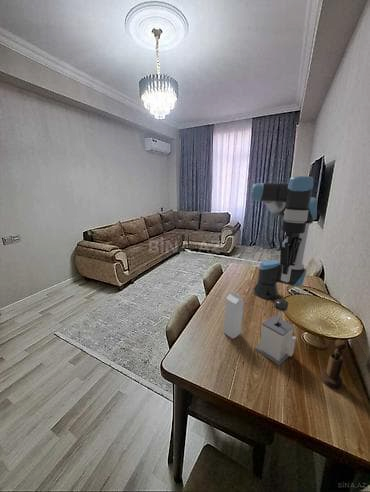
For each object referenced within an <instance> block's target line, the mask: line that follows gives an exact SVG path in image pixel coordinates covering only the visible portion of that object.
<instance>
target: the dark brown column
mask: <svg viewBox="0 0 370 492" xmlns="http://www.w3.org/2000/svg"><path fill="white" fill-rule="evenodd" d="M334 344H335V345H334V346H335V347H336V348H335V349H334V350H333V351H334V352H331V353H330V354H329V358H328V362H327V367H326V368H324V369H322V370H321V373H320V380H321V381H322V382H323V384H325V386H327V387H329V388H331V389H334V390H339V389H341V388H342V385H343V378H342V377H341V375H340V374H341V371H342V367H343V363H344V357H343V356H342V354H343V352H342V350H344V349H345V348H346V342H345V341H344V340H342V339H340V338H339V339H336V340H335V343H334Z"/></svg>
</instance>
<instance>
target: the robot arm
mask: <svg viewBox="0 0 370 492" xmlns="http://www.w3.org/2000/svg"><path fill="white" fill-rule="evenodd" d="M314 180H315V179H314V177H313V176H307V175H306V176H305V175H304V176H303V175H302V176H298V175H297V176H292V177H290V178H289V181H288V182H283V183H279V182H258V183H257V182H256V183H254V184H253V186H252V188H251V199H252V201H253V202H262V203H263V204H264V205H265V206H266V208H267V210H268V211H269V212H270V213H271V214H273V215H276V216H278V217H282V218H283V221H282V227H281V230H282V232H285V235H284V237H283V241H281V240H280V242H279V246H280V258H279V260H280V261H278V260H277V259H266V260H265V259H264V260H262V261H261V262H260V263H259V267H258V277H257V282H256V285H254V288H253V293H254V295H256V296H257V297H259V298H262V299H265V300H276V299H278V298H277V297H278V296H279V291H278V288H277V287H278V286H277V283H279V284H283V285H288V286H292V287H301V286H302V285H303V283H304V280H305V277H306V274H307V269H306V268H305V265H304V264H303V260H304V256H305V250H306V249H305V248H306V243H307V238H308V232H309V227H310V225H311V224H313V223H314V221H315V220H317V217H318V216H317V213H318V199H317V198H316V197H312V195H313V189H314Z"/></svg>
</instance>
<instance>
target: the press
mask: <svg viewBox="0 0 370 492" xmlns="http://www.w3.org/2000/svg"><path fill="white" fill-rule="evenodd" d="M277 319H278V316H275V315H271V317H269V318H268V319H266V320H265V321H264V322H262V323H261V324H262V325H261V332H260V339H259V345H258V346H256V347H255V351H257V352H258V353H260V354H261V355H263V356H264V357H266V358H267V359H269V360H270V361H271V362H273V363H274V364H276V365H278V366H279V367H280V366H281V365H282V364H283V363H284V362H285V361H286V360H287V359H288V358H289V357H293V355H294V351H295V345H296V342H297V337H296V336H295V335H293V331H294V325H293V324H291V323H289V322H287V321H285V320H283V319H281V318H280V324H279V327H277V326H275V325H277Z"/></svg>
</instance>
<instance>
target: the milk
mask: <svg viewBox="0 0 370 492" xmlns="http://www.w3.org/2000/svg"><path fill="white" fill-rule="evenodd" d="M224 303H225V305H224V307H225V308H224V315H223V316H224V318H223V331H222V332H223V334H225V335H226V336H227V337H229V338H231V339H232V340H233V339H236V338H237V337H238V336H240V335H241V334H242V333H241V331H242V322H243V313H244V304H245V300H244V299H243V298H241V295H240V294H238V293H237V292H234V291H233V290H230V292H229V294H228V295H227V297H226V298H225V302H224Z"/></svg>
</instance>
